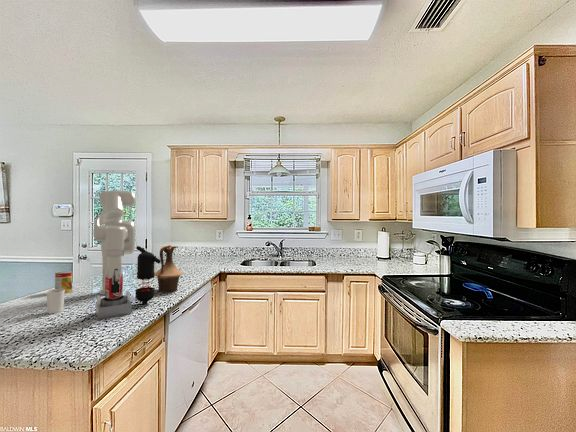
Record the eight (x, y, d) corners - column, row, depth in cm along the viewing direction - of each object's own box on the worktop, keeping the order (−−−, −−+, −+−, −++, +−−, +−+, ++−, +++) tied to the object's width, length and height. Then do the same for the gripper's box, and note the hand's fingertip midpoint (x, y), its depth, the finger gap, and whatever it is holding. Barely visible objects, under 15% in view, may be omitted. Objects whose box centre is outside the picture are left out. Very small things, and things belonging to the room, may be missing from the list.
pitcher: (171, 294, 166) (172, 246, 166) (145, 292, 170) (146, 245, 170) (188, 287, 183) (188, 244, 184) (164, 286, 187) (165, 243, 187)
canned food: (75, 290, 171) (75, 270, 171) (63, 294, 163) (64, 273, 164) (63, 290, 172) (63, 270, 172) (51, 293, 164) (51, 272, 164)
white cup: (49, 310, 136) (50, 289, 136) (66, 308, 139) (67, 288, 139) (43, 314, 130) (43, 292, 130) (61, 313, 132) (61, 291, 133)
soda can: (125, 295, 138) (125, 270, 138) (117, 300, 131) (117, 273, 131) (110, 295, 137) (110, 270, 137) (101, 299, 130) (101, 273, 130)
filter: (129, 305, 145) (130, 246, 145) (140, 300, 154) (141, 245, 154) (153, 307, 143) (155, 247, 143) (164, 302, 152) (165, 245, 152)
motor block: (95, 312, 134) (95, 293, 134) (126, 307, 142) (127, 289, 142) (98, 319, 125) (98, 298, 126) (131, 313, 134) (131, 294, 134)
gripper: (102, 251, 138) (101, 288, 138) (108, 255, 125) (107, 296, 125) (120, 250, 143) (119, 286, 143) (127, 254, 130) (126, 293, 130)
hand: (113, 290), depth 134 cm, fingers closed on soda can, 7 cm apart
